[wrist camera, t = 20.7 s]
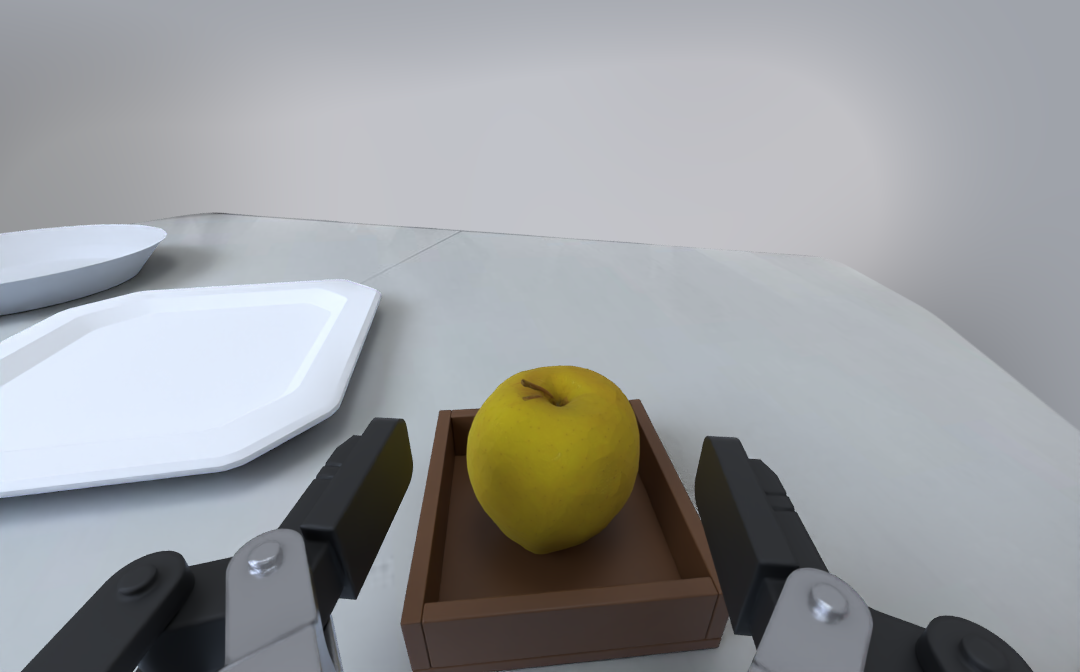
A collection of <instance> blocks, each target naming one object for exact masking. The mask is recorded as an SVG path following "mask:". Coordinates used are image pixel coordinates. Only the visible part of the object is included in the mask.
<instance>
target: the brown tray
mask: <svg viewBox="0 0 1080 672" xmlns="http://www.w3.org/2000/svg"><path fill="white" fill-rule="evenodd" d="M628 401H629V403H630V405H631V407H632V409H633V411H634V414H635V417H636V421H637V426H638V430H639V434H640V456H639V468H638V472H637V476H636V480H635V483H634V487H633V490H632V492H631V494H630V497H629V498H628V500H627V502H626V504H625V505H624V506H623V508H622V509H621V511H620V512H619V513H618V514H617V515H616V516H615V517H614V518H613V519H612V520H611V522H610V523H609V524H608V525H607V527H606V528H604V529H603V530H602V531H601V532H600V533H598V534H597V535H595V536H594V537H592V538H590V539H588V540H587V541H585V542H584V543H581V544H579V545H576V546H573V547H569V548H566V549H563V550H559V551H555V552H551V553H548V554H534V553H532V552H531V551H528V550H526V549H525V548H524V547H522V546H521V545H519V544H518V543H516V542H515V541H513V540H511V539H510V538H508V537H507V536H506V535H505V534H504V533H503V532H502V531H501V530H500V529H499V527H498V526H497V524H496V523H494V521H493V520H492V519H491V518H490V517H489V515H488V514H487V513H486V512H485V511H484V509H483V507H482V506H481V504H480V503H479V501H478V499H477V497H476V495H475V493H474V490H473V487H472V484H471V481H470V478H469V474H468V469H467V442H468V435H469V431H470V429H471V426H472V422H473V420H474V418H475V416H476V414H477V412H478V411H479V410H480V409H463V410H452V411H451V410H442V411H439V416H438V421H437V427H436V432H435V438H434V443H433V449H432V454H431V460H430V465H429V470H428V476H427V481H426V487H425V492H424V498H423V503H422V509H421V514H420V520H419V525H418V531H417V536H416V541H415V547H414V552H413V558H412V563H411V569H410V574H409V580H408V585H407V591H406V596H405V602H404V607H403V612H402V618H401V623H400V624H401V628H402V632H403V636H404V640H405V644H406V648H407V652H408V656H409V660H410V664H411V667H412V670H413V672H492V671H502V670H511V669H520V668H530V667H539V666H548V665H558V664H567V663H577V662H586V661H595V660H605V659H614V658H624V657H633V656H642V655H652V654H661V653H670V652H680V651H689V650H699V649H708V648H717V647H719V644H720V641H721V637H722V635H723V632H724V629H725V626H726V623H727V620H728V617H729V614H728V610H727V607H726V604H725V600H724V597H723V593H722V590H721V586H720V583H719V580H718V576H717V573H716V569H715V566H714V562H713V559H712V556H711V552H710V549H709V545H708V542H707V538H706V535H705V532H704V528H703V525H702V522H701V520H700V518H699V516H698V514H697V512H696V510H695V508H694V506H693V504H692V502H691V500H690V498H689V496H688V494H687V492H686V490H685V488H684V486H683V484H682V482H681V480H680V478H679V476H678V474H677V472H676V470H675V468H674V466H673V464H672V462H671V460H670V458H669V456H668V454H667V452H666V450H665V448H664V446H663V444H662V442H661V441H660V439H659V437H658V435H657V433H656V431H655V429H654V427H653V425H652V423H651V421H650V419H649V417H648V415H647V413H646V411H645V409H644V407H643V405H642V403H641V401H640V400H639V399H636V400H628Z"/></svg>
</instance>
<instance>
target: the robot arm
mask: <svg viewBox="0 0 1080 672" xmlns="http://www.w3.org/2000/svg"><path fill="white" fill-rule="evenodd" d="M412 472H413V460H412V454H411V449H410V443H409V437H408V432H407V426H406V423H405V421H404V420H403V419H396V418H374V419H373V420H372V421H371V422H370V424H369V425H368V427H367V428H366V430H365V431H364V433H363V434H362V436H357V435H353V436H352V437H351V438H349V439H348V440H347V441H345V442H344V443H343V444H341V445H340V446H339V447H337V448H336V450H335V451H334V452H333V454H332V455H331V456H330V458H329V459H328V461H327V462H326V465H325V466H323V467H322V469H321V470H320V472H319V473H318V474H317V476H316V479H314V480H313V481H312V483H311V484H310V485H309V487H308V488H307V489H306V491H305V492H304V494H303V495H302V496H301V498H300V499H299V500H298V502H297V503H296V505H295V506H294V507H293V509H292V510H291V511H290V513H289V514H288V516H287V517H286V518H285V520H284V521H283V522H282V524H281V525H280V527H279V528H278V529H276V530H271V531H268V532H265V533H263V534H261V535H259V536H257V537H255V538H253V539H252V540H250V541H249V542H247V543H246V544H245V545H244V546H242V547H241V548H240V549H239V550H238V551H237V552H236V553H235V555H234V556H233V557H230V558H226V559H221V560H216V561H212V562H207V563H202V564H197V565H193V566H188V564H187V563H186V561H185V559H184V558H183V556H182V555H181V554H179V553H177V552H174V551H161V552H156V553H152V554H149V555H146V556H144V557H141V558H139V559H137V560H135V561H133V562H131V563H130V564H128V565H126V566H125V567H123V568H122V569H120V570H119V571H118V572H116V573H115V574H114V575H113V576H112V577H111V578H109V579H108V580H107V581H106V582H105V583H104V584H103V586H102V587H101V588H100V589H99V590H98V591H97V592H96V593H95V594H94V595H93V596H92V597H91V598H90V599H89V600H88V601H87V602H86V603H85V605H84V606H83V607H82V608H81V609H80V610H79V611H78V612H77V613H76V614H75V615H74V616H73V617H72V618H71V619H70V620H69V621H68V622H67V624H66V625H65V626H64V627H63V628H62V629H61V630H60V631H59V632H58V633H57V634H56V635H55V636H54V637H53V638H52V639H51V640H50V641H49V643H48V644H47V645H46V646H45V647H44V648H43V649H42V650H41V651H40V652H39V653H38V654H37V655H36V656H35V657H34V658H33V659H32V661H31V662H30V663H29V664H28V665H27V666H26V667H25V668H24V669H23V670H22V671H21V672H133V671H134V669H135V668H136V667H137V666H138V669H137V670H136V672H343V667H342V662H341V657H340V653H339V648H338V643H337V638H336V633H335V628H334V623H333V618H332V615H331V613H332V611H333V609H334V607H335V605H336V603H337V601H338V599H339V598H342V599H354V600H356V599H357V597H358V595H359V593H360V590H361V588H362V586H363V584H364V582H365V580H366V577H367V575H368V573H369V571H370V569H371V567H372V564H373V562H374V560H375V558H376V556H377V554H378V551H379V549H380V547H381V545H382V543H383V541H384V538H385V536H386V534H387V532H388V530H389V528H390V525H391V523H392V521H393V519H394V517H395V515H396V512H397V510H398V508H399V506H400V504H401V502H402V499H403V497H404V495H405V493H406V491H407V489H408V486H409V484H410V481H411V477H412ZM695 499H696V504H697V508H698V511H699V514H700V518H701V521H702V525H703V528H704V532H705V535H706V538H707V542H708V545H709V549H710V552H711V556H712V559H713V562H714V566H715V569H716V573H717V576H718V580H719V583H720V586H721V590H722V593H723V597H724V600H725V604H726V607H727V610H728V614H729V617H730V621H731V624H732V628H733V631H734V634H736V635H747V636H752V637H753V640H754V643H755V646H756V649H757V652H756V654H755V656H754V659H753V661H752V663H751V665H750V668H749V670H748V672H1033V671H1032V670H1031V668H1030V667H1029V666H1028V664H1027V663H1026V662H1025V661H1024V660H1023V658H1022V657H1021V656H1020V655H1019V654H1018V653H1017V652H1016V651H1015V650H1014V649H1013V648H1012V647H1011V646H1009V645H1008V644H1007V643H1006V642H1005V641H1003V640H1002V639H1001V638H999V637H998V636H997V635H995V634H994V633H992V632H990V631H989V630H987V629H986V628H984V627H982V626H980V625H978V624H976V623H974V622H971V621H969V620H966V619H963V618H960V617H955V616H939V617H937V618H934V619H933V620H932V621H931V622H930V623H929V625H928V626H927V627H926V628H923V627H920V626H917V625H915V624H912V623H909V622H906V621H903V620H901V619H898V618H895V617H892V616H889V615H887V614H884V613H881V612H879V611H876V610H874V609H872V608H870V607H868V606H867V605H866V603H865V602H864V600H863V599H862V598H861V597H860V595H859V594H858V593H857V592H856V591H855V590H854V589H853V588H852V587H851V586H849V585H848V584H847V583H845V582H844V581H843V580H841V579H840V578H838V577H836V576H834V575H832V574H830V573H829V571H828V570H827V568H826V566H825V564H824V562H823V560H822V559H821V557H820V555H819V553H818V551H817V549H816V547H815V545H814V544H813V542H812V540H811V538H810V536H809V534H808V532H807V531H806V529H805V527H804V525H803V523H802V521H801V519H800V517H799V516H798V514H797V512H795V511H794V506H793V504H792V503H791V501H790V499H789V497H787V496H786V491H785V489H784V488H783V486H782V484H781V482H780V480H779V478H778V476H777V475H776V474H775V473H774V472H773V471H772V470H771V469H770V468H769V467H768V466H767V465H765V464H764V463H763V462H762V461H761V460H760V459H749V458H748V456H747V454H746V452H745V450H744V448H743V446H742V444H741V442H740V440H739V439H738V438H734V437H715V436H706V437H705V439H704V442H703V446H702V451H701V456H700V460H699V465H698V469H697V474H696V479H695Z"/></svg>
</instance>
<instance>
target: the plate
mask: <svg viewBox="0 0 1080 672" xmlns="http://www.w3.org/2000/svg"><path fill="white" fill-rule="evenodd" d="M381 297H382V294H381V293H380V291H378V290H376V289H374V288H371V287H368V286H365V285H362V284H359V283H356V282H352V281H349V280H346V279H332V280H315V281H298V282H282V283H265V284H248V285H232V286H215V287H199V288H182V289H165V290H149V291H140V292H135V293H131V294H126V295H122V296H118V297H114V298H110V299H106V300H102V301H98V302H94V303H90V304H86V305H82V306H78V307H73V308H69V309H67V310H64V311H61V312H59V313H57V314H55V315H53V316H51V317H49V318H47V319H45V320H43V321H41V322H39V323H37V324H35V325H33V326H31V327H29V328H27V329H25V330H23V331H21V332H19V333H17V334H16V335H14V336H12V337H10V338H8V339H6V340H4V341H2V342H0V498H5V497H13V496H22V495H30V494H38V493H47V492H55V491H64V490H72V489H80V488H89V487H97V486H105V485H114V484H122V483H130V482H139V481H147V480H155V479H164V478H172V477H180V476H189V475H197V474H205V473H214V472H222V471H226V470H229V469H232V468H235V467H238V466H241V465H244V464H246V463H248V462H250V461H252V460H253V459H255V458H257V457H259V456H261V455H262V454H264V453H266V452H268V451H270V450H271V449H273V448H275V447H277V446H279V445H280V444H282V443H284V442H286V441H287V440H289V439H291V438H293V437H295V436H296V435H298V434H300V433H302V432H304V431H305V430H307V429H309V428H311V427H313V426H314V425H316V424H318V423H320V422H322V421H323V420H325V419H327V418H329V417H331V416H332V415H333V414H334V413H335V412H336V411H337V410H338V409H339V408H340V405H341V402H342V400H343V397H344V394H345V392H346V389H347V386H348V384H349V381H350V379H351V376H352V373H353V371H354V368H355V365H356V363H357V360H358V358H359V355H360V352H361V350H362V347H363V344H364V342H365V339H366V337H367V334H368V331H369V329H370V326H371V323H372V321H373V318H374V316H375V313H376V310H377V308H378V305H379V303H380V300H381Z"/></svg>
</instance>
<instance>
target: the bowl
mask: <svg viewBox="0 0 1080 672" xmlns="http://www.w3.org/2000/svg"><path fill="white" fill-rule="evenodd" d="M166 235H167V233H166V231H165V230H163V229H161V228H158V227H153V226H146V225H132V224H104V225H83V226H69V227H57V228H45V229H36V230H27V231H18V232H10V233H2V234H0V316H1V315H7V314H13V313H18V312H23V311H29V310H33V309H38V308H43V307H47V306H51V305H56V304H60V303H64V302H68V301H71V300H75V299H79V298H82V297H85V296H89V295H92V294H95V293H98V292H101V291H104V290H106V289H109V288H112V287H114V286H117V285H119V284H121V283H123V282H125V281H127V280H129V279H131V278H133V277H134V276H135V275H137V274H138V273H139V271H140V270H141V268H142V267H143V265H144V264H145V262H146V261H147V260H148V258H149V257H150V255H151V254H152V253H153V251H154V250H155V248H156V247H157V246H158V244H159V243H160V242H161V241H162V240H163V239H164V238H165V237H166Z"/></svg>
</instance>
